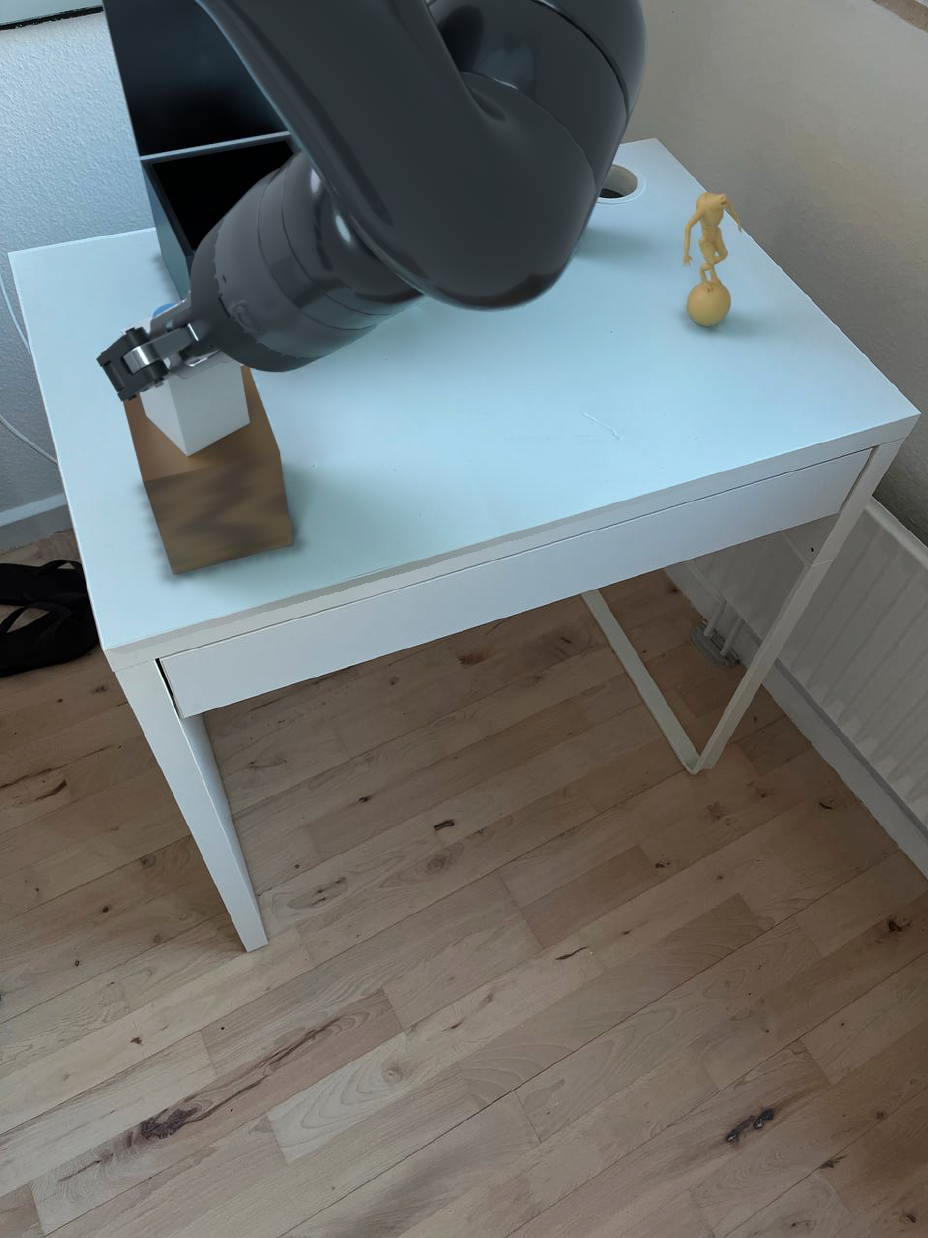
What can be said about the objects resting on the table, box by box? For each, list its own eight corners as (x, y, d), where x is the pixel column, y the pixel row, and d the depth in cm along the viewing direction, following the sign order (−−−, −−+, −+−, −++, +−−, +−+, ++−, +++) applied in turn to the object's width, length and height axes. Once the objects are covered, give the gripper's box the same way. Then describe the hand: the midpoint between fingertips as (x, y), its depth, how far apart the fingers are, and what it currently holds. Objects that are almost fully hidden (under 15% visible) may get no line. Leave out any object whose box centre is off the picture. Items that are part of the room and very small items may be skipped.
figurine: (693, 350, 86) (731, 232, 76) (642, 318, 88) (673, 199, 79) (745, 312, 90) (788, 195, 80) (695, 282, 92) (731, 165, 82)
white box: (187, 457, 62) (161, 354, 55) (145, 415, 64) (115, 311, 57) (250, 423, 64) (232, 320, 57) (208, 383, 66) (185, 279, 59)
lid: (271, -73, 72) (253, -93, 74) (89, -53, 68) (77, -75, 70) (291, 130, 84) (276, 107, 86) (139, 156, 80) (127, 132, 83)
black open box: (352, 321, 86) (347, 223, 78) (205, 356, 82) (185, 257, 74) (299, 231, 93) (290, 133, 85) (162, 259, 89) (139, 159, 81)
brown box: (173, 574, 69) (142, 481, 60) (150, 487, 73) (119, 389, 65) (293, 545, 71) (280, 451, 63) (264, 461, 75) (248, 363, 67)
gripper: (383, 136, 44) (265, 238, 58) (111, 248, 38) (53, 332, 52) (453, 289, 46) (324, 352, 60) (207, 417, 40) (127, 454, 54)
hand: (199, 343), depth 56 cm, fingers open, 8 cm apart
